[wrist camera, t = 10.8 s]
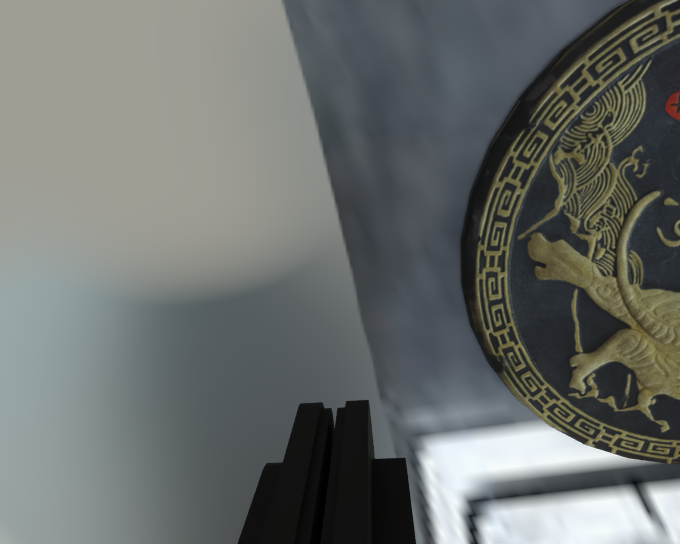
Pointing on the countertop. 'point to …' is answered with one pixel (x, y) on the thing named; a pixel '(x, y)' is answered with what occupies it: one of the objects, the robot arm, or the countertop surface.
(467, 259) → the decorative plate
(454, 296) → the countertop surface
